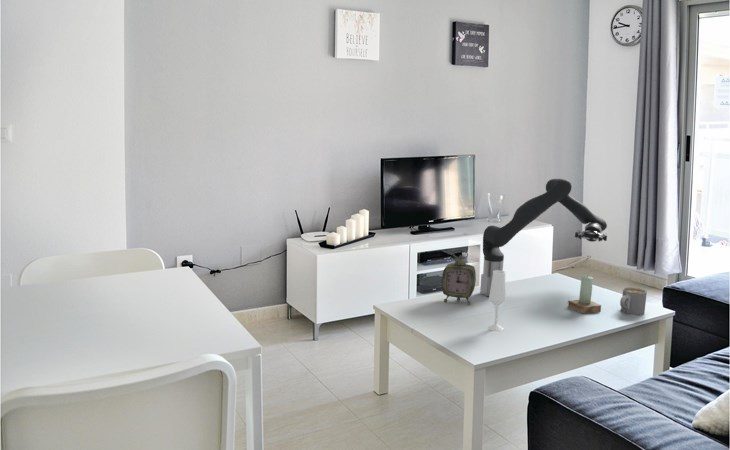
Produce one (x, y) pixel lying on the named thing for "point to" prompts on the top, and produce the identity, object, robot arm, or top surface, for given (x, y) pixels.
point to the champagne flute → (497, 295)
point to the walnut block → (584, 307)
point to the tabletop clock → (458, 279)
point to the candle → (586, 290)
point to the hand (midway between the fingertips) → (589, 238)
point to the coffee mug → (633, 300)
